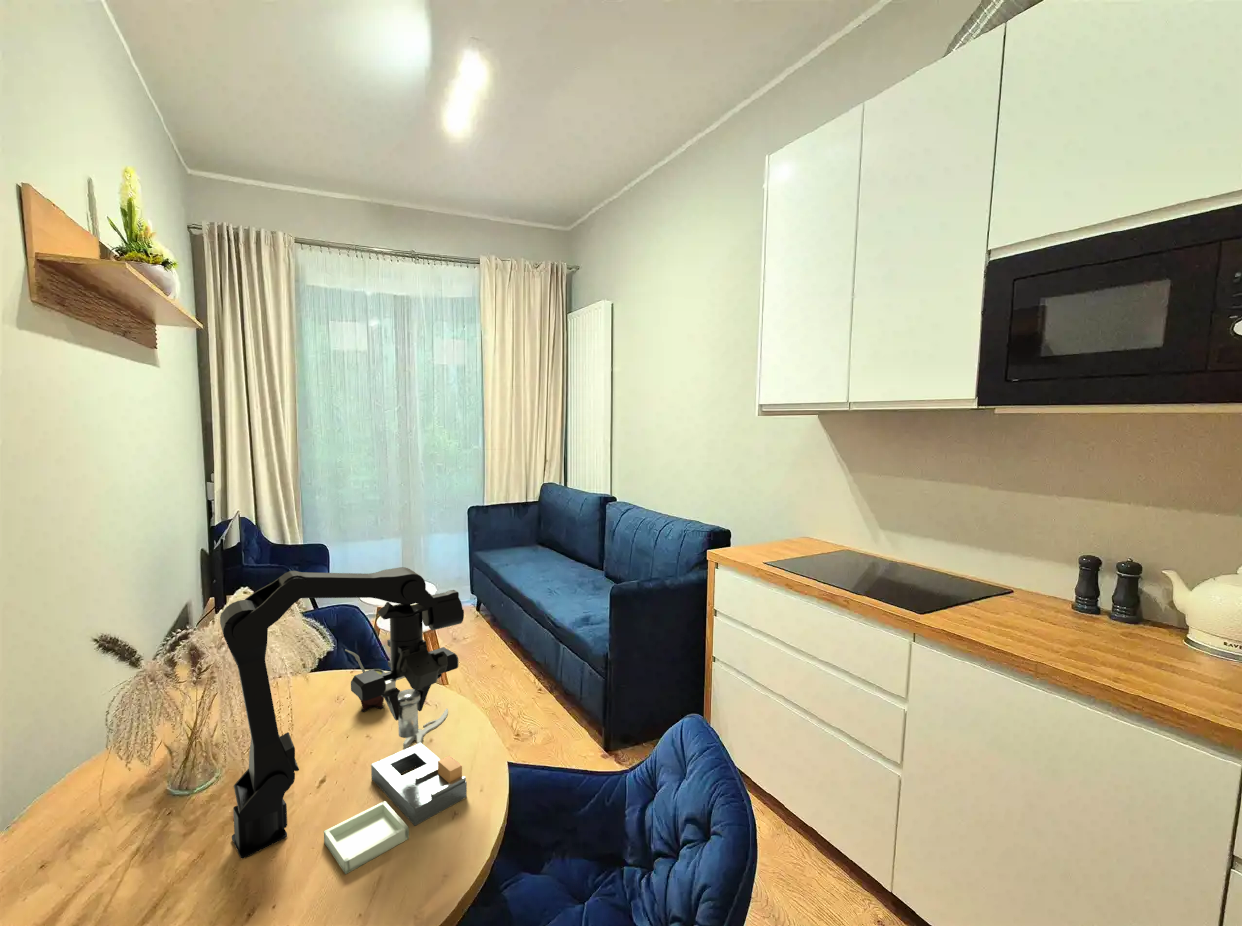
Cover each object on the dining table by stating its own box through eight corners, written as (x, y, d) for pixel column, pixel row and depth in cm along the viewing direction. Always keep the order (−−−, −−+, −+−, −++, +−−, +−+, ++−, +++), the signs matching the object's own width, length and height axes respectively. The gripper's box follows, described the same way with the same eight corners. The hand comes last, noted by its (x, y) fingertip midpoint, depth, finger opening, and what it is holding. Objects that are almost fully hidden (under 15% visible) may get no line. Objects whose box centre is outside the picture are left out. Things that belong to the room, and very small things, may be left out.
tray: (345, 874, 84) (345, 862, 83) (324, 842, 90) (323, 831, 90) (408, 838, 91) (408, 827, 91) (385, 811, 97) (384, 800, 97)
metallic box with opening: (414, 825, 94) (414, 805, 93) (371, 779, 106) (371, 760, 105) (466, 797, 101) (466, 778, 101) (420, 756, 113) (420, 739, 113)
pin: (402, 742, 102) (401, 703, 101) (391, 732, 105) (390, 695, 104) (425, 732, 105) (424, 695, 105) (414, 723, 108) (413, 686, 108)
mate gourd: (395, 702, 134) (394, 642, 133) (369, 718, 127) (367, 655, 126) (372, 695, 137) (370, 637, 136) (345, 711, 130) (343, 649, 129)
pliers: (449, 705, 131) (435, 741, 116) (449, 711, 131) (435, 748, 116) (405, 707, 130) (387, 744, 115) (406, 713, 130) (387, 751, 115)
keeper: (450, 784, 100) (450, 771, 100) (438, 773, 103) (437, 760, 103) (462, 778, 101) (461, 765, 101) (449, 767, 104) (449, 755, 104)
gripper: (374, 664, 91) (376, 754, 93) (473, 633, 105) (473, 712, 106) (348, 645, 99) (350, 728, 100) (443, 618, 112) (444, 692, 114)
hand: (408, 715), depth 105 cm, fingers closed on pin, 4 cm apart
